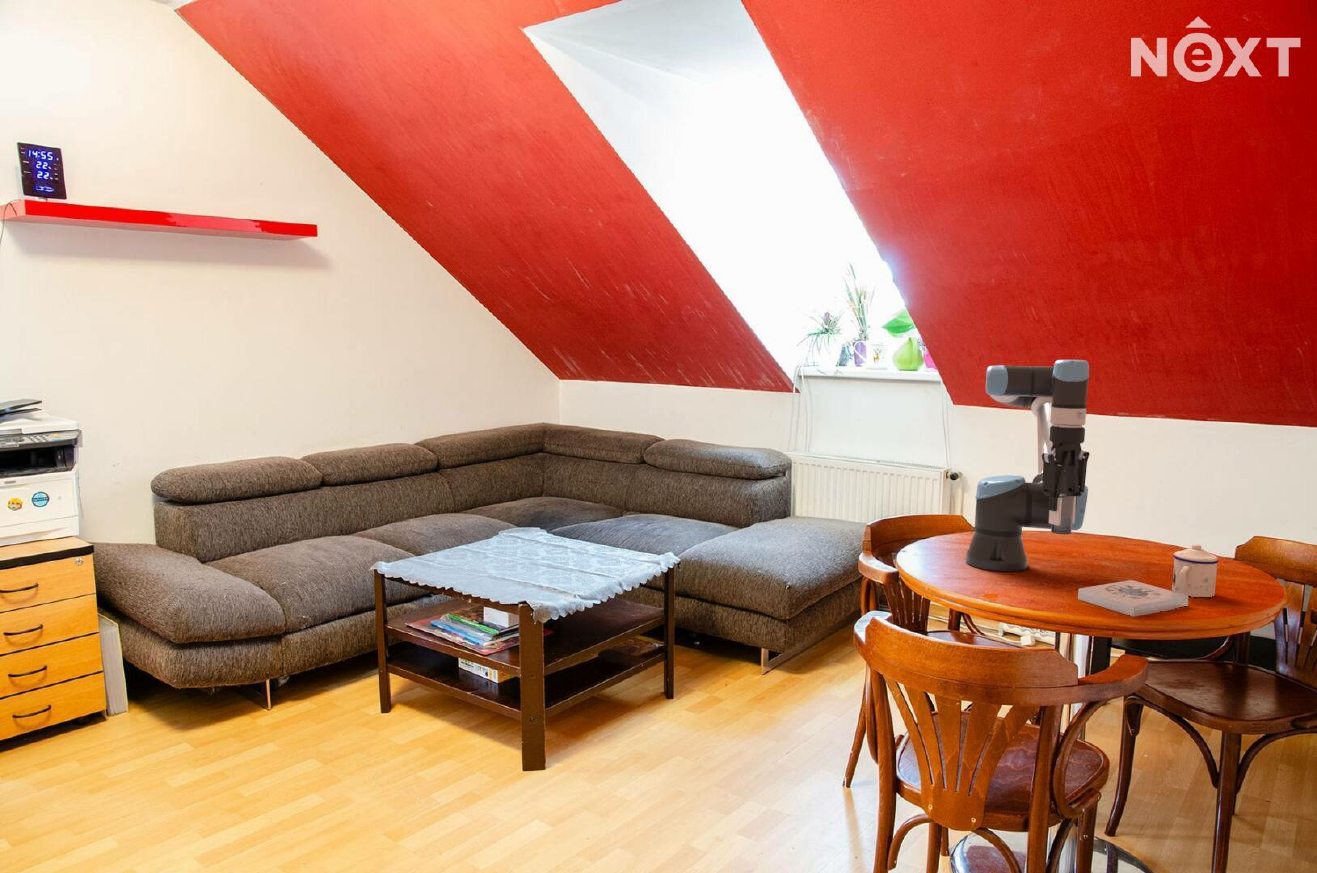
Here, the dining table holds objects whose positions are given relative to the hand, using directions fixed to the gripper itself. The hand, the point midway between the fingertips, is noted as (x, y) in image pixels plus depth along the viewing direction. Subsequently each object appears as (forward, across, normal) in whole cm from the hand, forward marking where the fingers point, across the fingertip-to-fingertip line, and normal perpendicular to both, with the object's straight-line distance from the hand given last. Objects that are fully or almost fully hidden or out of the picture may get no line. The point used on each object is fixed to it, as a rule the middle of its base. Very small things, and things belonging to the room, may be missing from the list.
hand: (1061, 523), depth 213 cm
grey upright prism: (+2, 0, 0) cm, 2 cm away
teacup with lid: (+16, +24, -17) cm, 33 cm away
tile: (+16, +5, -16) cm, 23 cm away
